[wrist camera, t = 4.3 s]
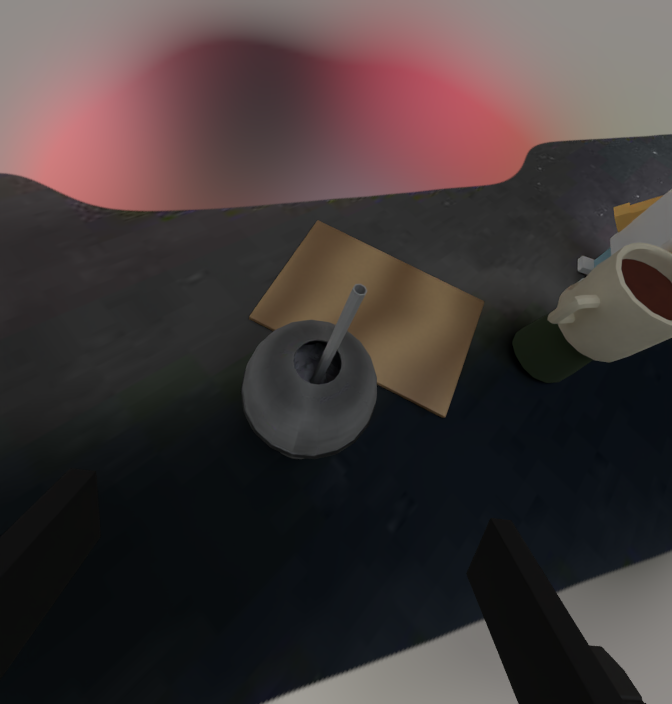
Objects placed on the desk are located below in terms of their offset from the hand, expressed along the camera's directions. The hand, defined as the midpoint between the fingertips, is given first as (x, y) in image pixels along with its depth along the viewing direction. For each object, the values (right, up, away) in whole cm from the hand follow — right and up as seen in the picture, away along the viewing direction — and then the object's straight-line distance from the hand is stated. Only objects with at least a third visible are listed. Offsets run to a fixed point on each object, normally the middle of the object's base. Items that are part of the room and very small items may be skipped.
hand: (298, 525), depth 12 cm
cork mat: (+5, +10, +23) cm, 26 cm away
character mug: (+22, +5, +24) cm, 33 cm away
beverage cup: (-2, -1, +18) cm, 18 cm away
